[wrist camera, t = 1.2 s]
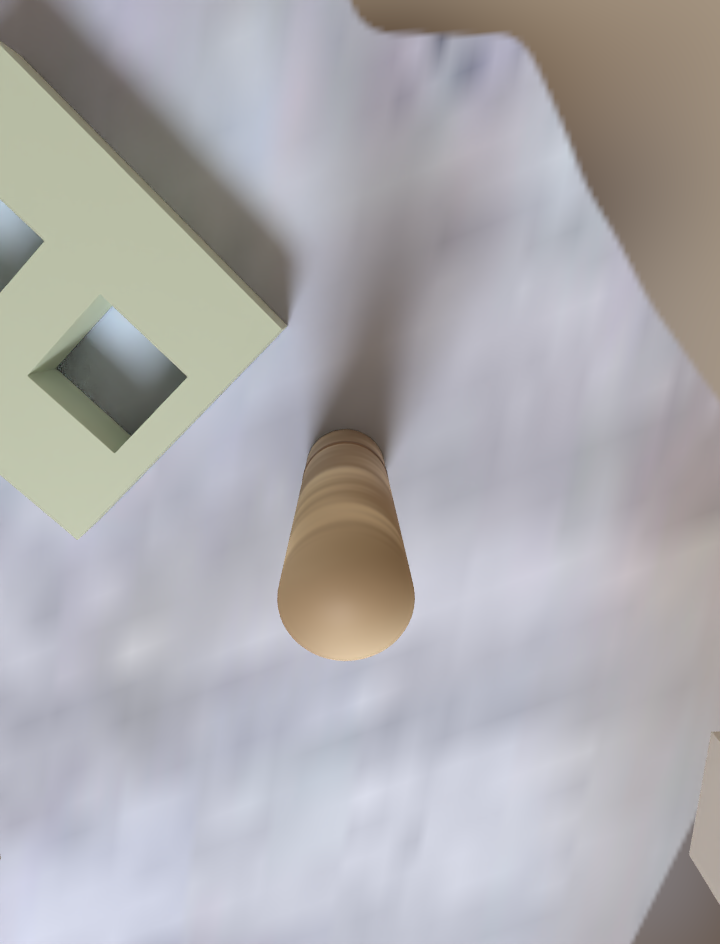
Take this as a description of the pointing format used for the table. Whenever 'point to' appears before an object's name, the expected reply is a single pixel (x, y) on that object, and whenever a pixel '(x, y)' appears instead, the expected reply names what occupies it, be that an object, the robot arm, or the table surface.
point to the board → (101, 306)
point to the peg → (345, 554)
